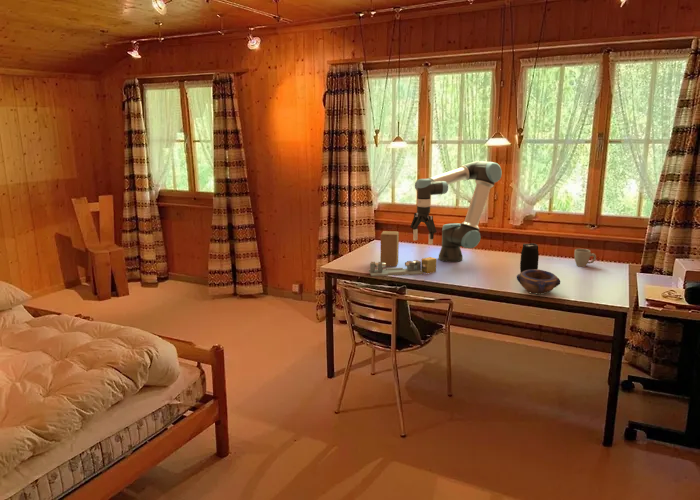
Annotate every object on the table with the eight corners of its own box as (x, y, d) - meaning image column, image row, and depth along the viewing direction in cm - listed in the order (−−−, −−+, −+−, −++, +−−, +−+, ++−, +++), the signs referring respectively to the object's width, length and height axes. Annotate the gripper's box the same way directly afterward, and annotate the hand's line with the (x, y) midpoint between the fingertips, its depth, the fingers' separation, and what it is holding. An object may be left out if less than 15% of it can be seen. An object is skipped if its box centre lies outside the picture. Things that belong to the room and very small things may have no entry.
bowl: (537, 299, 255) (538, 280, 253) (511, 289, 271) (512, 271, 269) (564, 294, 263) (565, 275, 260) (537, 285, 279) (538, 267, 276)
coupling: (431, 269, 310) (431, 256, 308) (437, 271, 306) (437, 258, 304) (420, 272, 305) (420, 259, 303) (426, 274, 301) (426, 260, 299)
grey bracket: (385, 272, 305) (385, 262, 304) (385, 274, 301) (385, 264, 300) (371, 271, 307) (371, 261, 305) (370, 273, 302) (370, 263, 301)
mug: (573, 266, 314) (574, 251, 312) (573, 263, 322) (575, 248, 320) (594, 268, 309) (596, 252, 307) (595, 265, 317) (596, 249, 315)
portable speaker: (537, 281, 286) (540, 246, 281) (519, 280, 288) (521, 245, 283) (536, 276, 294) (539, 243, 289) (519, 275, 296) (521, 242, 291)
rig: (418, 269, 310) (418, 266, 310) (422, 274, 301) (422, 271, 300) (368, 271, 307) (368, 268, 307) (371, 276, 297) (371, 273, 297)
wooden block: (396, 266, 317) (396, 234, 313) (380, 266, 319) (380, 234, 315) (398, 262, 327) (398, 231, 322) (382, 261, 329) (382, 230, 324)
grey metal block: (417, 270, 309) (417, 260, 308) (420, 272, 305) (420, 261, 304) (404, 271, 306) (404, 261, 305) (407, 273, 302) (407, 263, 301)
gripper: (404, 204, 306) (404, 239, 311) (433, 209, 286) (432, 247, 291) (414, 202, 310) (414, 237, 315) (443, 208, 290) (442, 245, 295)
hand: (422, 242), depth 303 cm, fingers open, 13 cm apart
